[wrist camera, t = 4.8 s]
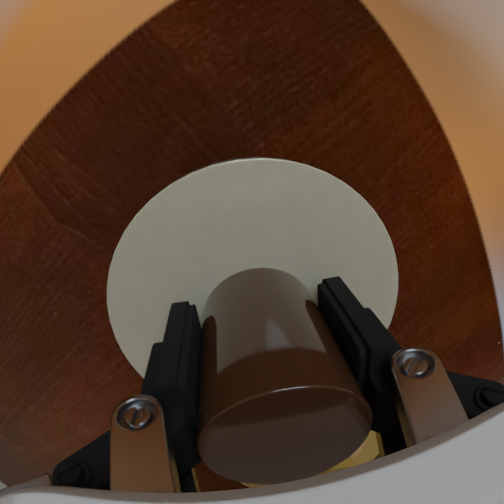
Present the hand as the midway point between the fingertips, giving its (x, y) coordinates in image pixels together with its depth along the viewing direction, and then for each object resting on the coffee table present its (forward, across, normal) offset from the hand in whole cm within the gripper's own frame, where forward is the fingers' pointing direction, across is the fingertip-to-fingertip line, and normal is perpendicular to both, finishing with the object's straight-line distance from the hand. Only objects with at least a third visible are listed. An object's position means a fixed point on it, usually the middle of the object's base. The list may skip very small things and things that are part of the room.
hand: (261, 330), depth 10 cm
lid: (+1, 0, 0) cm, 1 cm away
